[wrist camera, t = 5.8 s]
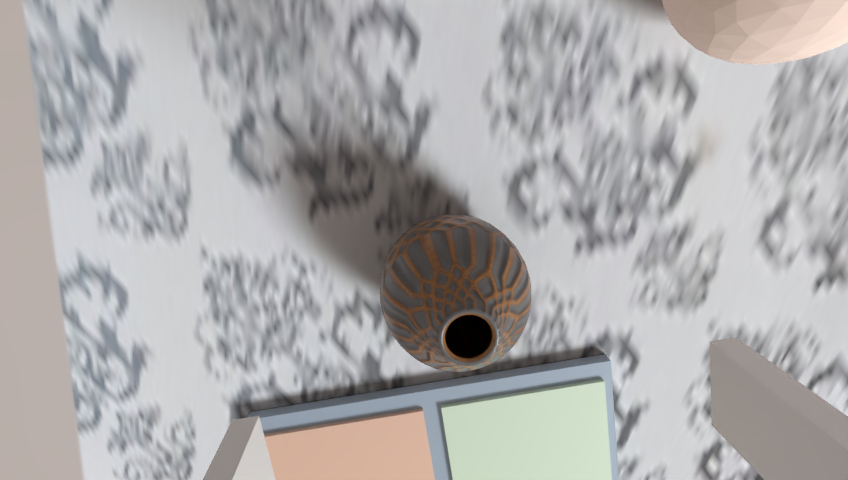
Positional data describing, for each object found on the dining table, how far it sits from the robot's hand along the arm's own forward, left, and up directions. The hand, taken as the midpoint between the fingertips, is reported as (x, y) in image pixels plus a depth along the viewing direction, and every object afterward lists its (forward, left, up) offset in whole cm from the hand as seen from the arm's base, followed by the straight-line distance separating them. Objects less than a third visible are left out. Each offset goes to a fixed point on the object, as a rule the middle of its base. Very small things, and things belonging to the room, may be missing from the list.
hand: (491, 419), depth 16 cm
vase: (0, 0, -14) cm, 14 cm away
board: (+12, -2, -14) cm, 18 cm away
